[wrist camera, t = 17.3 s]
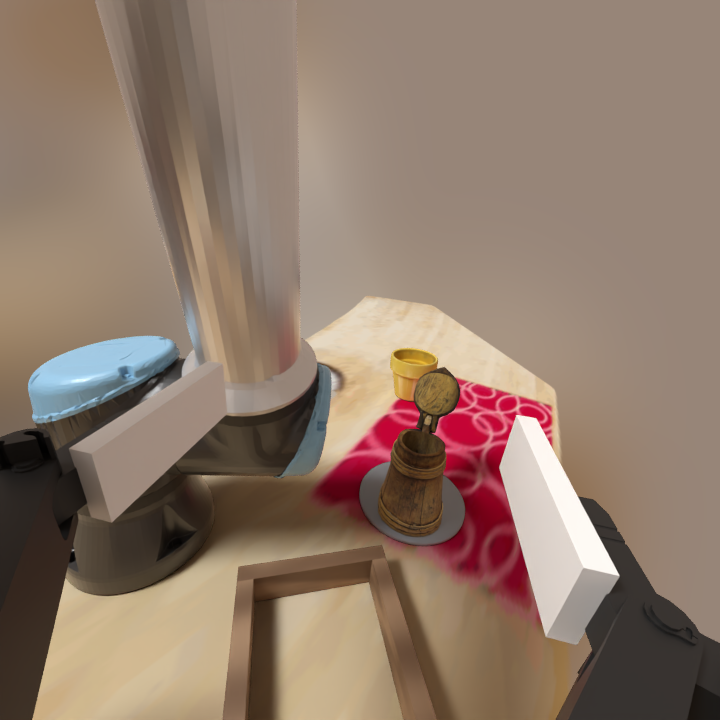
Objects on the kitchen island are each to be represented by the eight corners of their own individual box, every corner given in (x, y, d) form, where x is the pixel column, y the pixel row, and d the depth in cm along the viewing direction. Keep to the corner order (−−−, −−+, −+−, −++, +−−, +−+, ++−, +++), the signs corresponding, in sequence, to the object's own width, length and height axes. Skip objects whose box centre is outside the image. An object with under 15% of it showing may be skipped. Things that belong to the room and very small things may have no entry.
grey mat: (349, 467, 53) (350, 464, 53) (436, 460, 56) (436, 457, 56) (374, 554, 40) (375, 550, 39) (485, 537, 43) (486, 533, 43)
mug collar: (240, 589, 35) (238, 566, 33) (378, 566, 38) (381, 545, 37) (202, 989, 17) (195, 976, 15) (467, 876, 20) (480, 856, 19)
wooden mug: (451, 478, 52) (478, 374, 45) (434, 548, 40) (466, 423, 33) (397, 459, 55) (413, 359, 48) (366, 520, 43) (382, 399, 36)
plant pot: (382, 383, 81) (387, 346, 78) (423, 384, 83) (430, 348, 79) (391, 405, 72) (397, 364, 68) (437, 406, 73) (445, 366, 70)
